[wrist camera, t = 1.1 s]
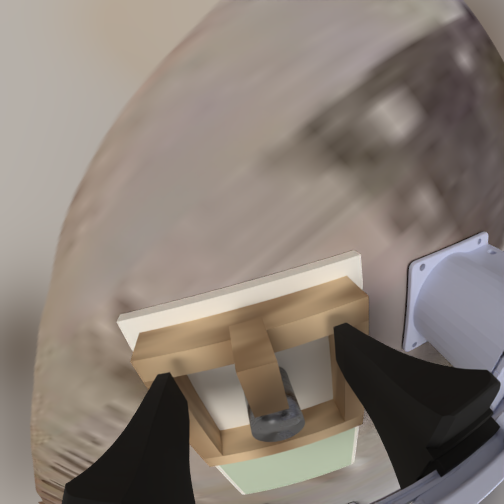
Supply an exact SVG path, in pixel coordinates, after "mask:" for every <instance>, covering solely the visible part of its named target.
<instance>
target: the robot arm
mask: <svg viewBox="0 0 504 504" xmlns="http://www.w3.org/2000/svg"><path fill="white" fill-rule="evenodd" d="M420 266H421V267H420ZM333 329H334V341H335V356H336V362H337V364H338V366H339V368H340V370H341V372H342V374H343V376H344V378H345V380H346V381H347V383H348V384H349V386H350V387H351V389H352V390H353V392H354V393H355V395H356V396H357V398H358V399H359V401H360V402H361V404H362V405H363V407H364V408H365V410H366V411H367V413H368V414H369V416H370V418H371V419H372V421H373V423H374V425H375V427H376V429H377V432H378V434H379V436H380V438H381V440H382V442H383V444H384V447H385V449H386V451H387V453H388V456H389V458H390V461H391V463H392V465H393V468H394V471H395V473H396V476H397V479H398V482H399V485H400V488H401V491H399V492H397V493H395V494H393V495H391V496H389V497H387V498H385V499H383V500H381V501H379V502H377V503H375V504H409V503H411V502H412V504H478V503H479V502H480V501H482V500H483V498H485V497H486V496H487V495H488V494H489V493H490V492H491V491H492V490H494V489H495V488H496V487H497V486H498V485H499V484H500V483H501V482H502V481H503V480H504V251H502V250H500V249H498V248H496V247H494V246H492V245H489V244H488V233H487V232H481V233H479V234H477V235H475V236H472V237H470V238H468V239H466V240H463V241H461V242H459V243H456V244H454V245H452V246H449V247H447V248H445V249H442V250H440V251H438V252H435V253H433V254H430V255H428V256H425V257H423V258H420V259H418V260H415V261H413V262H412V263H411V264H410V266H409V279H408V299H407V313H406V324H405V333H404V341H403V349H404V350H405V351H406V352H408V351H410V350H412V349H414V348H416V347H418V346H420V345H422V344H423V343H425V342H427V341H428V342H429V343H430V344H431V345H432V346H433V347H434V348H435V349H437V350H438V351H439V352H440V353H441V354H442V355H443V356H444V357H445V358H446V359H447V360H448V361H449V362H450V363H451V364H452V365H453V366H454V367H448V366H443V365H439V364H435V363H430V362H427V361H423V360H420V359H417V358H414V357H412V356H409V355H406V354H404V353H401V352H399V351H397V350H395V349H393V348H391V347H388V346H386V345H385V344H383V343H381V342H379V341H377V340H375V339H373V338H372V337H370V336H368V335H367V334H365V333H363V332H361V331H360V330H358V329H357V328H355V327H353V326H352V325H350V324H348V323H343V324H340V325H338V326H335V327H333ZM189 439H190V419H189V410H188V401H187V400H186V398H185V396H184V395H183V393H182V391H181V390H180V388H179V386H178V385H177V383H176V381H175V380H174V378H173V376H172V375H171V373H170V372H168V373H162V374H157V376H156V378H155V379H154V381H153V383H152V385H151V387H150V388H149V390H148V392H147V394H146V396H145V397H144V399H143V401H142V403H141V404H140V406H139V408H138V409H137V411H136V413H135V414H134V416H133V417H132V419H131V421H130V422H129V424H128V425H127V427H126V428H125V429H124V431H123V432H122V434H121V435H120V436H119V437H118V439H117V440H116V441H115V442H114V443H113V445H112V446H111V447H110V448H109V449H108V450H107V451H106V452H105V453H104V454H103V455H102V456H101V457H100V458H99V459H98V460H97V461H96V462H95V463H94V464H93V465H92V466H90V467H89V468H88V469H87V470H85V471H84V472H83V473H81V474H80V475H79V476H77V477H76V478H74V479H73V480H71V481H70V482H68V483H66V485H65V489H64V494H63V500H62V504H195V499H194V494H193V488H192V482H191V475H190V465H189Z"/></svg>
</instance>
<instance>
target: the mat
mask: <svg viewBox="0 0 504 504" xmlns="http://www.w3.org/2000/svg"><path fill="white" fill-rule="evenodd" d="M354 434H355V427H354V428H352V429H349V430H347V431H344V432H342V433H339V434H337V435H334V436H331V437H329V438H326V439H323V440H320V441H317V442H314V443H311V444H308V445H305V446H302V447H298V448H295V449H292V450H288V451H285V452H281V453H277V454H273V455H269V456H265V457H261V458H256V459H252V460H247V461H242V462H237V463H231V464H225V465H219V466H220V467H221V468H222V469H223V470H224V471H225V473H226V474H227V475H228V476H229V477H230V478H231V479H232V480H233V481H234V482H235V483H236V484H237V486H238V487H239V488H240V489H241V490H242V491H243V492H244V493H245V494H250V493H256V492H261V491H266V490H270V489H274V488H279V487H283V486H287V485H291V484H294V483H298V482H301V481H305V480H308V479H311V478H314V477H318V476H321V475H324V474H326V473H329V472H332V471H335V470H338V469H340V468H343V467H345V466H348V465H350V464H351V460H352V452H353V443H354Z"/></svg>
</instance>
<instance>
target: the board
mask: <svg viewBox="0 0 504 504" xmlns="http://www.w3.org/2000/svg"><path fill="white" fill-rule="evenodd" d="M344 276H348V277H349V278H350V279H351V280H352V281H353V282H354V283H355V284H356V285H357V286H358V287H359V288H361V289H362V290H363V281H362V265H361V254H359V253H358V252H356V251H355V250H352V251H349V252H346V253H343V254H339V255H336V256H333V257H330V258H326V259H323V260H320V261H316V262H313V263H310V264H306V265H303V266H299V267H296V268H293V269H289V270H286V271H282V272H279V273H275V274H272V275H268V276H265V277H261V278H258V279H254V280H251V281H247V282H243V283H240V284H236V285H232V286H229V287H225V288H221V289H218V290H214V291H210V292H207V293H203V294H199V295H195V296H192V297H188V298H184V299H180V300H176V301H172V302H168V303H164V304H161V305H157V306H153V307H149V308H145V309H141V310H137V311H132V312H128V313H124V314H120V316H119V318H118V320H117V323H118V325H119V327H120V329H121V331H122V333H123V335H124V337H125V338H126V340H127V342H128V344H129V346H130V347H131V349H132V351H134V348H135V345H136V341H137V338H138V335H139V333H141V332H145V331H150V330H154V329H159V328H163V327H167V326H172V325H176V324H180V323H184V322H188V321H192V320H196V319H200V318H204V317H208V316H212V315H216V314H219V313H223V312H227V311H231V310H234V309H238V308H242V307H245V306H249V305H253V304H256V303H260V302H263V301H267V300H270V299H273V298H277V297H280V296H284V295H287V294H290V293H294V292H297V291H300V290H303V289H307V288H310V287H313V286H316V285H319V284H323V283H326V282H329V281H332V280H335V279H338V278H341V277H344ZM274 354H275V356H276V359H277V362H278V366H279V367H282V368H283V369H284V370H285V371H286V372H287V375H288V377H289V380H290V383H291V385H292V388H293V390H294V393H295V396H296V398H297V401H298V404H299V406H300V409H301V410H303V409H306V408H309V407H312V406H315V405H318V404H320V403H323V402H326V401H329V400H332V399H333V388H332V373H331V360H330V348H329V337H328V336H325V337H322V338H320V339H317V340H314V341H311V342H308V343H305V344H302V345H298V346H295V347H292V348H289V349H286V350H282V351H279V352H276V353H274ZM187 376H188V378H189V379H190V381H191V383H192V385H193V387H194V388H195V390H196V392H197V394H198V395H199V397H200V399H201V401H202V402H203V404H204V406H205V407H206V409H207V411H208V412H209V414H210V416H211V417H212V419H213V420H214V422H215V424H216V425H217V427H218V428H219V430H225V429H230V428H235V427H240V426H244V425H249V424H250V422H249V417H248V412H247V407H246V402H245V397H244V391H243V389H242V386H241V384H240V381H239V379H238V376H237V374H236V370H235V364H232V365H227V366H223V367H219V368H215V369H210V370H206V371H201V372H197V373H192V374H187ZM358 429H359V426H357V427H355V434H354V443H353V452H352V460H351V464H353V463H354V460H355V453H356V446H357V438H358ZM216 467H217V468H218V470H219V471H220V472H221V473H222V474H223V475H224V476H225V477H226V478H227V479H228V480H229V481H230V482H231V483H232V484H233V485H234V486H235V488H236V489H237V490H238V491H239V492H240V493H241V494H243V495H244V494H245V493H244V492H243V491H242V490H241V489H240V488H239V487H238V486H237V484H236V483H235V482H234V481H233V480H232V479H231V478H230V477H229V476H228V475H227V474H226V473H225V471H224V470H223V469H222V468H221V467H220V466H216Z"/></svg>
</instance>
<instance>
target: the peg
mask: <svg viewBox="0 0 504 504" xmlns="http://www.w3.org/2000/svg"><path fill="white" fill-rule="evenodd" d="M279 370H280V374H281V378H282V382H283V386H284V390H285V394H286V397H287V401H288V405H289V409H285V410H282V411H278V412H275V413H271V414H268V415H264V416H260V417H256V418H255V417H254V415H253V412H252V410H251V408H250V405H249V403H248V401H247V398H246V396H245V394H244V397H245V402H246V407H247V412H248V417H249V422H250V427H251V432H252V436H253V437H254V438H255V439H257V440H259V441H263V442H277V441H282V440H285V439H288V438H290V437H292V436H294V435H296V434H297V433H299V432H300V431H301V430H302V429H303V427H304V425H305V419H304V417H303V414H302V411H301V409H300V406H299V404H298V401H297V398H296V396H295V393H294V390H293V388H292V385H291V383H290V380H289V377H288V375H287V372H286V371H285V370H284V369H283V368H282V367H279Z"/></svg>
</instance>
